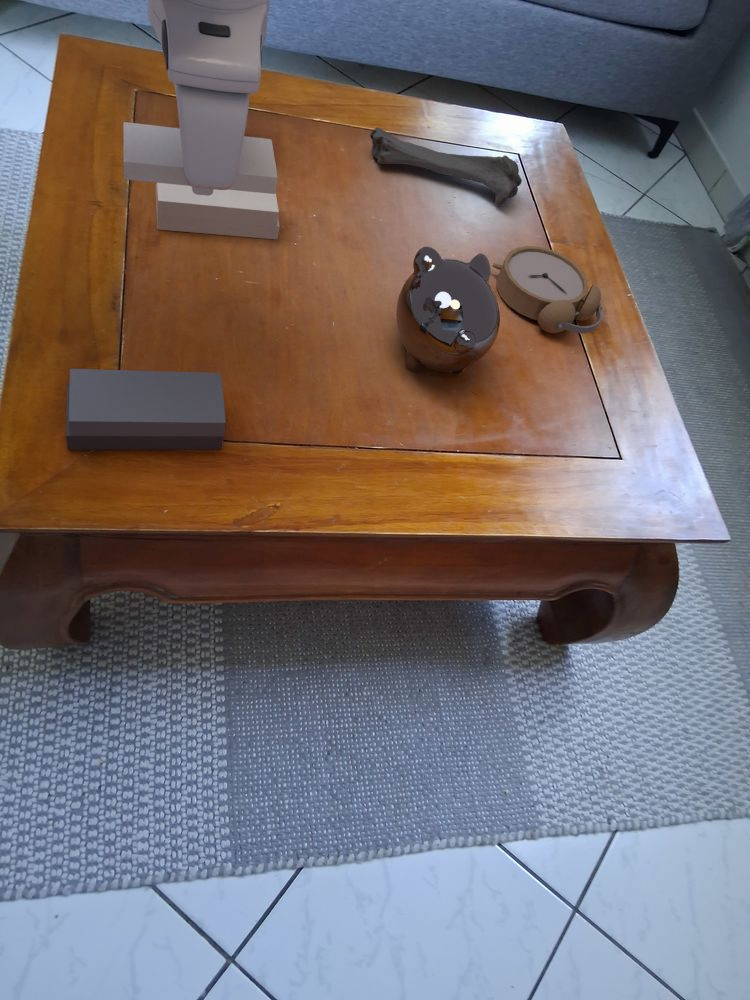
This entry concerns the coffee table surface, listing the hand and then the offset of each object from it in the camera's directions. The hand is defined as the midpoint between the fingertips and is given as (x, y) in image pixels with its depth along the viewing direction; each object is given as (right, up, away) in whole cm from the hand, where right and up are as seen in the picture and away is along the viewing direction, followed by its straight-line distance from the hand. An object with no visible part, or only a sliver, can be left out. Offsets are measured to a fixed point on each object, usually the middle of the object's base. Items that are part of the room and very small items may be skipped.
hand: (200, 165), depth 68 cm
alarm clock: (+38, -5, +31) cm, 49 cm away
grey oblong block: (-3, +4, +23) cm, 24 cm away
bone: (+25, +15, +39) cm, 49 cm away
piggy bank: (+22, -13, +21) cm, 33 cm away
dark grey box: (-6, -23, +5) cm, 24 cm away
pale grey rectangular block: (0, 0, 0) cm, 0 cm away
